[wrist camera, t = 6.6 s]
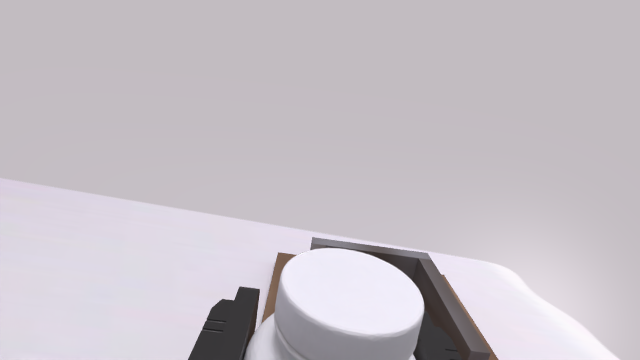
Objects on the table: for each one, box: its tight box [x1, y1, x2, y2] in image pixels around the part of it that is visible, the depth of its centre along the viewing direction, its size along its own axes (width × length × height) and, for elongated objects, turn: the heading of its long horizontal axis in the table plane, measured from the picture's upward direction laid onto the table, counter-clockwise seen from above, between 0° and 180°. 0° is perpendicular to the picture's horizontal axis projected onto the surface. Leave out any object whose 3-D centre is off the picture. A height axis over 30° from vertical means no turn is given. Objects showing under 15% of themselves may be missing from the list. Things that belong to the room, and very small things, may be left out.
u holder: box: [261, 237, 498, 360], centre depth 22 cm, size 14×13×4 cm
